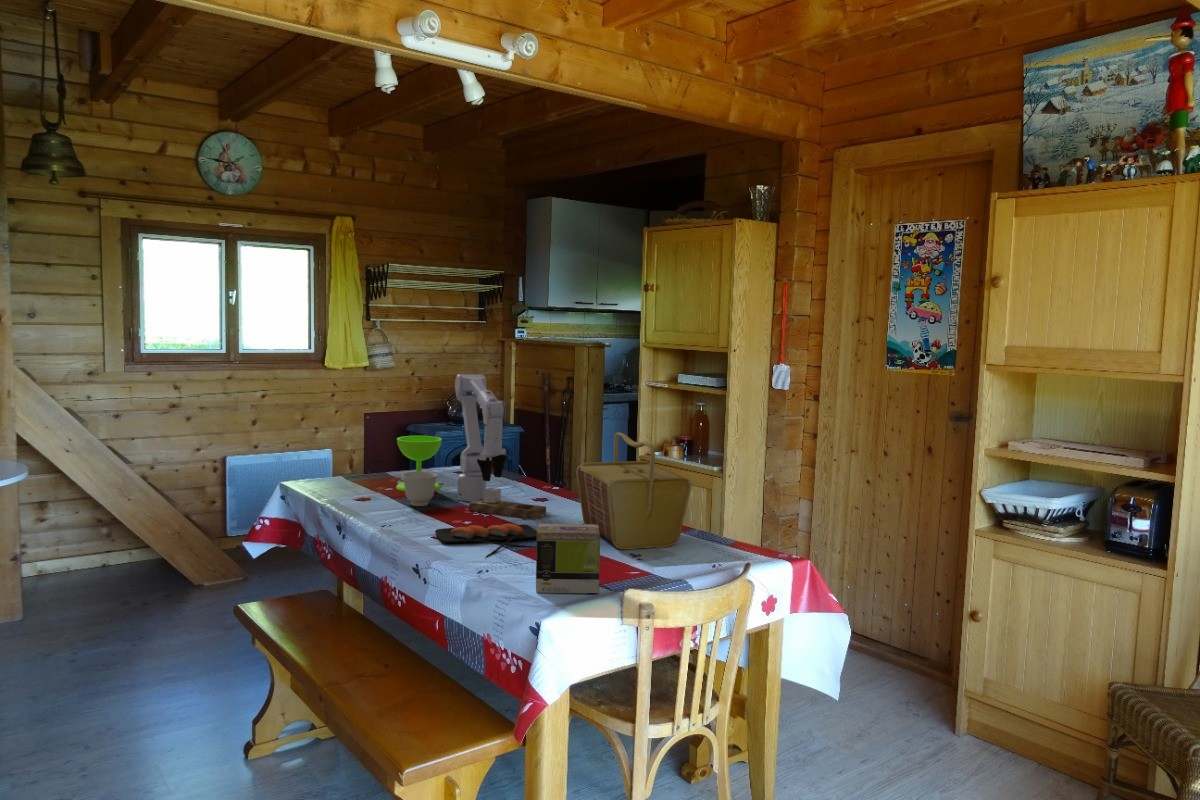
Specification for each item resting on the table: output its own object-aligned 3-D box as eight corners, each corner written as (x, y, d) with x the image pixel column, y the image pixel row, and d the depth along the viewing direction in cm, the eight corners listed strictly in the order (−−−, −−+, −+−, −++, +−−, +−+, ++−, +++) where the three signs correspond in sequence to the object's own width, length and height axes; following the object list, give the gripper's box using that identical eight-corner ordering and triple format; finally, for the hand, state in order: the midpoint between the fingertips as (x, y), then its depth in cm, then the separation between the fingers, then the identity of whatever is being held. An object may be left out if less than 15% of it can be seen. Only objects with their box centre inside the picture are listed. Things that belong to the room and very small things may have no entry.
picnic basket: (572, 528, 265) (575, 431, 262) (649, 524, 275) (653, 430, 272) (606, 553, 238) (610, 446, 235) (690, 548, 247) (696, 444, 244)
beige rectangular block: (483, 510, 284) (484, 489, 283) (489, 508, 287) (490, 487, 287) (494, 512, 282) (495, 491, 282) (500, 509, 286) (500, 489, 285)
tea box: (597, 582, 213) (599, 523, 211) (598, 595, 203) (601, 533, 201) (536, 580, 212) (538, 521, 211) (534, 593, 202) (536, 531, 201)
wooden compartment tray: (469, 510, 283) (469, 502, 283) (480, 505, 291) (481, 497, 290) (535, 519, 275) (535, 510, 275) (546, 514, 282) (546, 505, 282)
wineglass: (392, 484, 321) (392, 436, 319) (434, 482, 327) (435, 435, 326) (401, 493, 306) (402, 442, 304) (445, 490, 313) (446, 441, 311)
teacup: (444, 499, 298) (445, 471, 297) (431, 509, 283) (432, 479, 282) (410, 497, 299) (410, 469, 298) (395, 507, 284) (396, 477, 283)
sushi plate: (528, 530, 263) (528, 517, 263) (559, 556, 236) (559, 543, 235) (432, 535, 253) (432, 522, 253) (453, 564, 225) (453, 549, 225)
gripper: (493, 441, 275) (492, 483, 276) (514, 436, 288) (513, 476, 289) (474, 439, 277) (473, 481, 278) (495, 434, 291) (494, 474, 292)
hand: (492, 479), depth 284 cm, fingers open, 7 cm apart
